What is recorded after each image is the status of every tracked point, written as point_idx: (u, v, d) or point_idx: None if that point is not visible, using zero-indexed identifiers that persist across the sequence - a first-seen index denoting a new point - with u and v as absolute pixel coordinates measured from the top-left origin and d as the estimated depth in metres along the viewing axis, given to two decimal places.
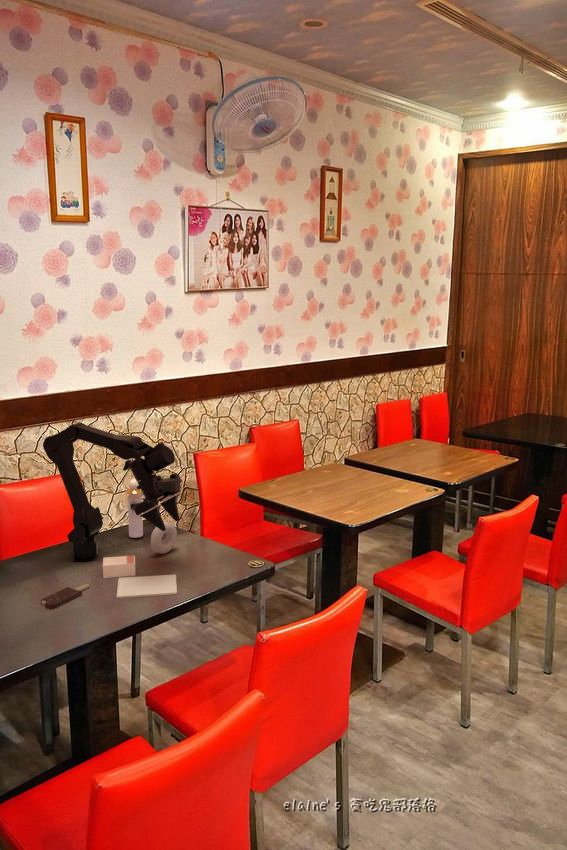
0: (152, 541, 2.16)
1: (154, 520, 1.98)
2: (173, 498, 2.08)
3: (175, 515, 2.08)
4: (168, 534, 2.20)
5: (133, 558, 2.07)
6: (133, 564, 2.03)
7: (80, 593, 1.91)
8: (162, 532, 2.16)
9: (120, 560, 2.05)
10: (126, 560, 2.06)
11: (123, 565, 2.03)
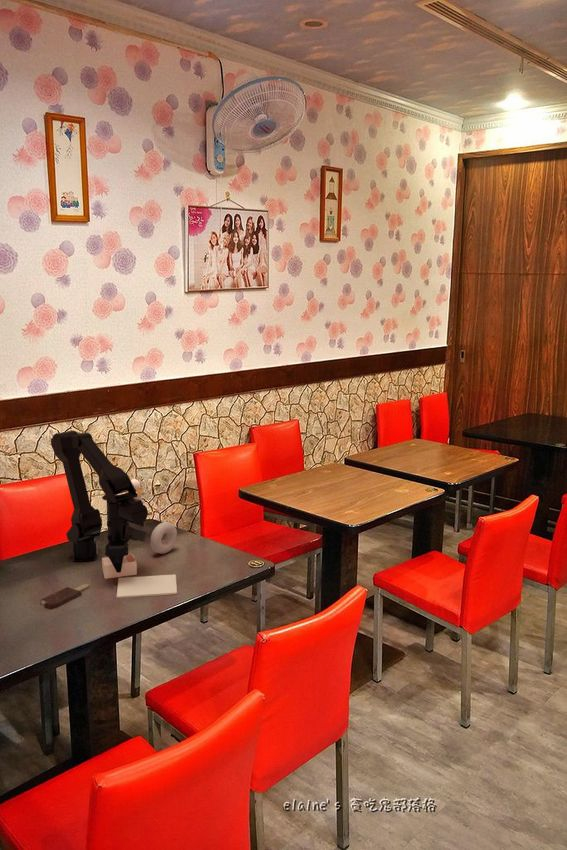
0: (152, 541, 2.16)
1: (116, 561, 2.00)
2: (125, 541, 2.08)
3: None
4: (168, 534, 2.20)
5: (132, 556, 2.07)
6: (134, 562, 2.04)
7: (80, 593, 1.91)
8: (162, 532, 2.16)
9: None
10: (126, 558, 2.06)
11: (125, 564, 2.03)
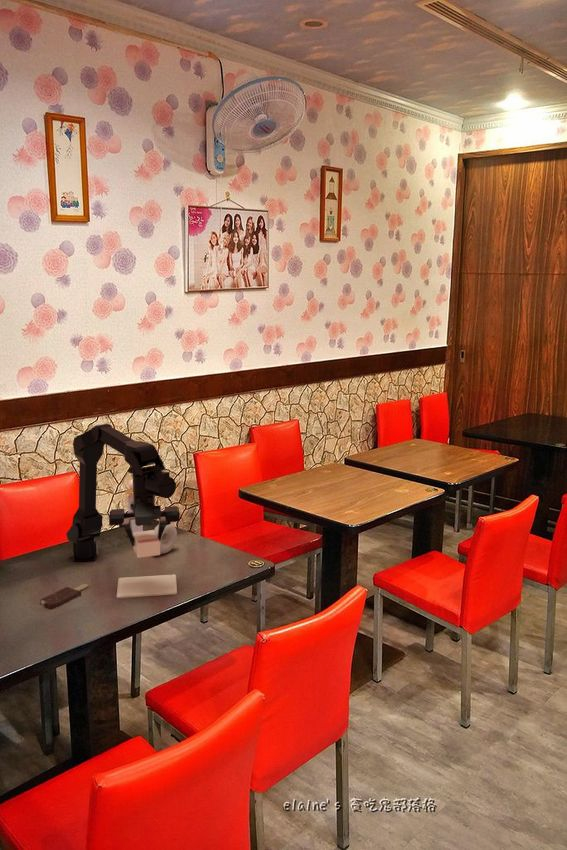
0: None
1: None
2: (159, 524, 1.92)
3: None
4: (168, 534, 2.20)
5: (151, 541, 1.90)
6: (137, 544, 1.89)
7: (80, 593, 1.91)
8: None
9: (145, 537, 1.93)
10: (146, 539, 1.92)
11: (135, 540, 1.92)
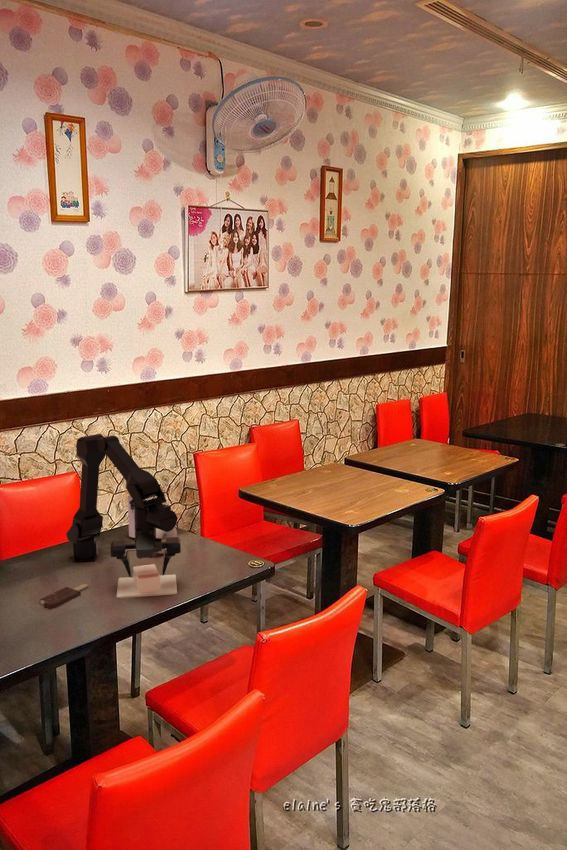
0: None
1: None
2: (164, 555, 1.94)
3: (162, 569, 1.96)
4: (168, 534, 2.20)
5: (151, 576, 1.92)
6: (137, 579, 1.91)
7: (79, 593, 1.91)
8: (162, 532, 2.16)
9: (145, 572, 1.95)
10: (147, 574, 1.94)
11: (136, 575, 1.94)
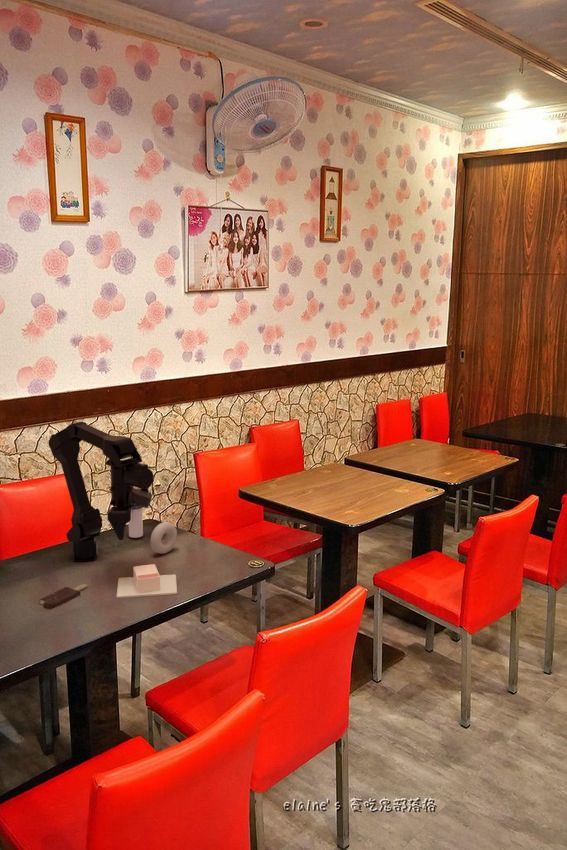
0: (152, 541, 2.16)
1: (118, 528, 1.98)
2: (129, 506, 2.08)
3: None
4: (168, 534, 2.20)
5: (151, 576, 1.92)
6: (137, 579, 1.91)
7: (79, 593, 1.91)
8: (162, 532, 2.16)
9: (145, 572, 1.95)
10: (147, 574, 1.94)
11: (136, 575, 1.94)
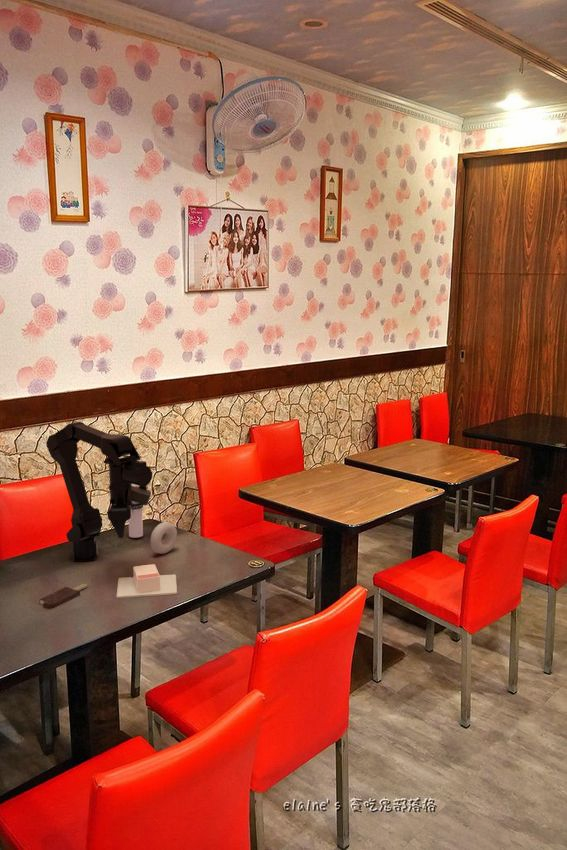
0: (152, 541, 2.16)
1: (118, 526, 1.98)
2: (128, 504, 2.08)
3: None
4: (168, 534, 2.20)
5: (151, 576, 1.92)
6: (137, 579, 1.91)
7: (78, 593, 1.91)
8: (162, 532, 2.16)
9: (145, 572, 1.95)
10: (147, 574, 1.94)
11: (136, 575, 1.94)
